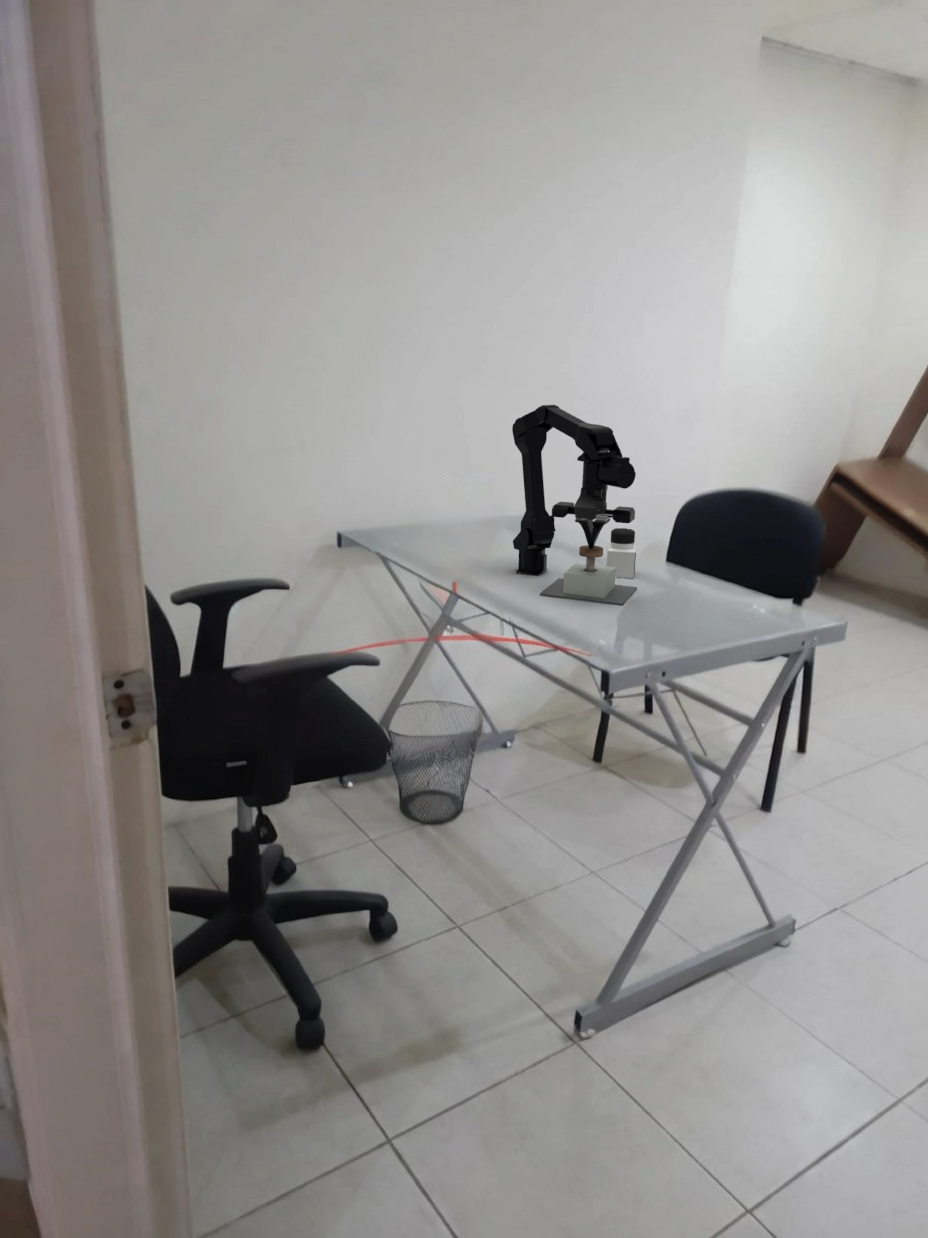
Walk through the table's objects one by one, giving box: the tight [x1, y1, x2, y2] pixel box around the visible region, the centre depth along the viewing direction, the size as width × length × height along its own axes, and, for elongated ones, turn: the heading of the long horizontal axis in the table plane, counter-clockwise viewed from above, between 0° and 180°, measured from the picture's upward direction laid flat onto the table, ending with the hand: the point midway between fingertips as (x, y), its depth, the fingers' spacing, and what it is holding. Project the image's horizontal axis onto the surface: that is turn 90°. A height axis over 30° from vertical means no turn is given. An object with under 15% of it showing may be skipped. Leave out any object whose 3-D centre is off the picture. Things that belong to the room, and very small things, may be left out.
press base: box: [539, 563, 638, 606], centre depth 207 cm, size 20×15×6 cm
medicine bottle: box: [606, 527, 637, 579], centre depth 222 cm, size 7×7×12 cm
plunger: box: [578, 544, 604, 572], centre depth 205 cm, size 6×6×6 cm
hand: (591, 548), depth 204 cm, fingers closed, pressing on plunger
